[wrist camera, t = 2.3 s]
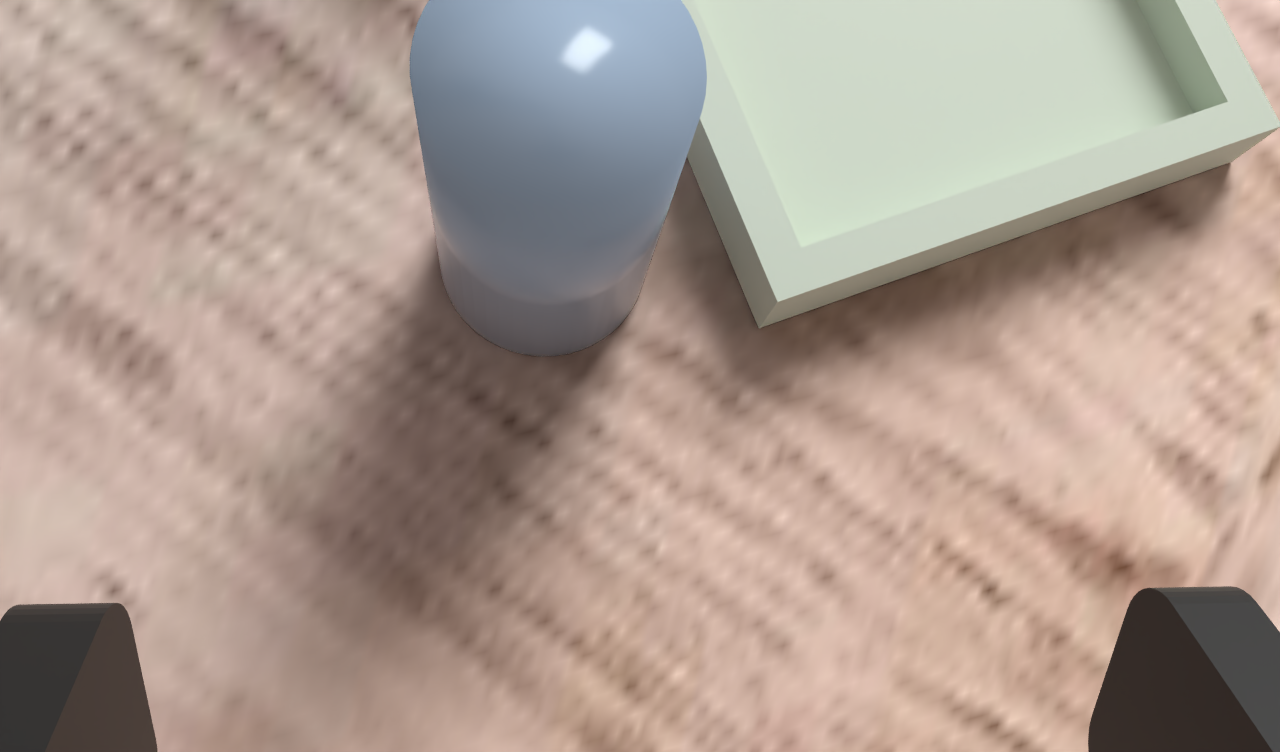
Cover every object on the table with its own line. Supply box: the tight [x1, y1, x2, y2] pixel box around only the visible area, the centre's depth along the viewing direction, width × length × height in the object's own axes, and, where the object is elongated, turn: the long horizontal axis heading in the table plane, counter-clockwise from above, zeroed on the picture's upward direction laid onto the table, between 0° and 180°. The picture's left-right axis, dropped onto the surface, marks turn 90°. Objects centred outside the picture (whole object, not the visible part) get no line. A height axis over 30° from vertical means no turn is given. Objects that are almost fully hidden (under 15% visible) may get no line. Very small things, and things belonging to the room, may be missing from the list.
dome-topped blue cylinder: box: [410, 0, 707, 356], centre depth 29 cm, size 6×6×11 cm
